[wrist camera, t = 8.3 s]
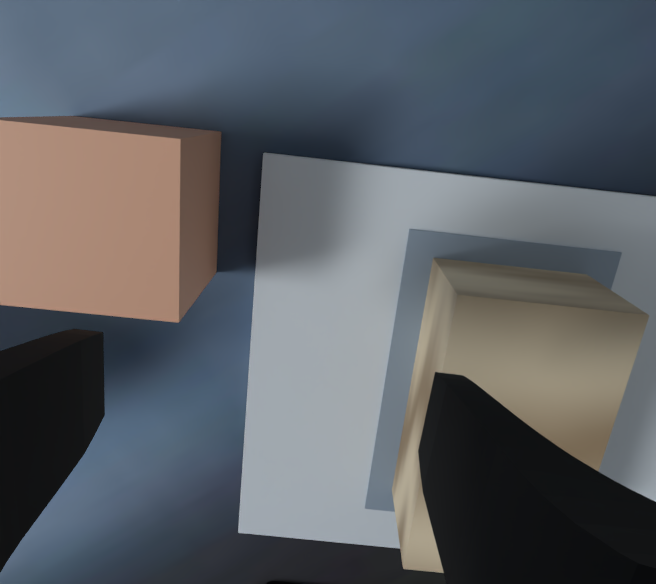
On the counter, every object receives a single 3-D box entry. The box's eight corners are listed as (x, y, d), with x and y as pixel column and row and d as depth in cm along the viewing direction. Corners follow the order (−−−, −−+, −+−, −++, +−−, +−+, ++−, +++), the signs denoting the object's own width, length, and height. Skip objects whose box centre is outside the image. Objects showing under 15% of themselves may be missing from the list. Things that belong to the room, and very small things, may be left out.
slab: (522, 503, 22) (561, 584, 18) (391, 489, 22) (403, 569, 18) (586, 274, 19) (649, 315, 15) (433, 257, 19) (457, 294, 15)
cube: (216, 271, 20) (178, 322, 15) (82, 257, 20) (0, 304, 15) (221, 131, 18) (180, 139, 13) (74, 116, 18) (-20, 118, 13)
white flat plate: (642, 565, 24) (648, 574, 23) (239, 525, 23) (237, 534, 23) (779, 210, 18) (790, 212, 18) (264, 152, 18) (262, 153, 18)
